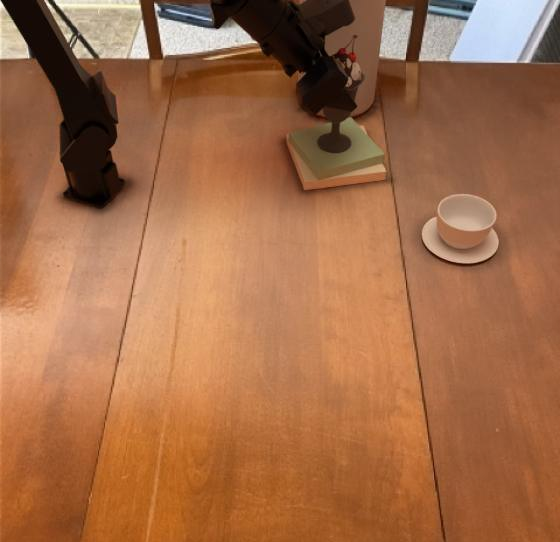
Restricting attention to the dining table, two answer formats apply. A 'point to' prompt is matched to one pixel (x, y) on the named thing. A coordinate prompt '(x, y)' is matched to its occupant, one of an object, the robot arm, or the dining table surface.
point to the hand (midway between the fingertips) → (348, 95)
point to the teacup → (462, 229)
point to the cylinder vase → (360, 47)
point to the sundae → (335, 139)
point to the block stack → (335, 157)
